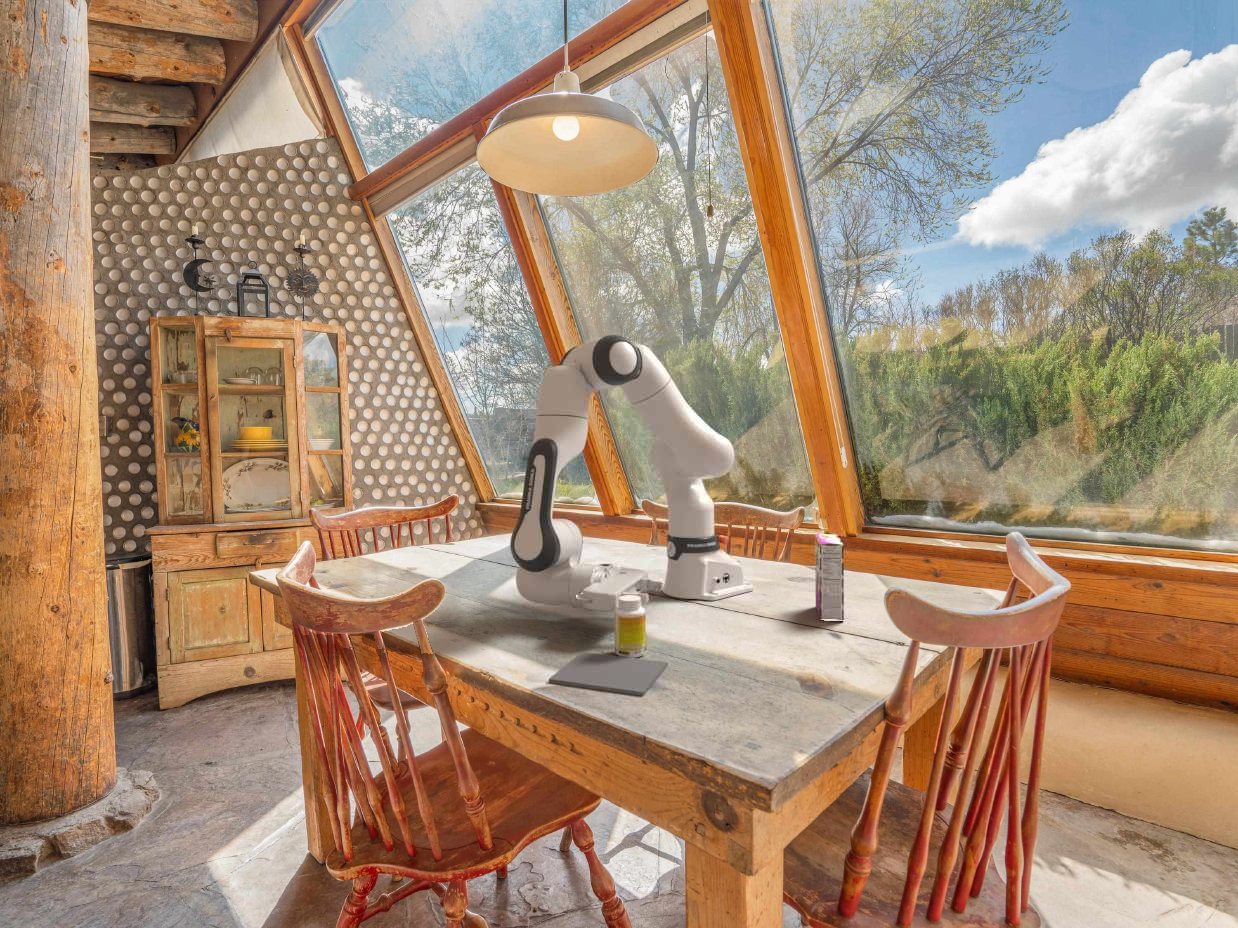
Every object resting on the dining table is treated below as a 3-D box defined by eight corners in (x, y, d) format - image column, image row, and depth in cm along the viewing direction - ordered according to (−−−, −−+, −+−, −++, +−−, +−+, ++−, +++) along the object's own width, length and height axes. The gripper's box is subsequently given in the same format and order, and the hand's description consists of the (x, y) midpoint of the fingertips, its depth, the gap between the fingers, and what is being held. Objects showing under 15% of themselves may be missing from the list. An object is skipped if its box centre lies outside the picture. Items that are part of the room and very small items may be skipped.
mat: (582, 654, 116) (582, 651, 116) (667, 665, 111) (667, 662, 111) (549, 682, 104) (548, 678, 104) (643, 695, 99) (643, 691, 99)
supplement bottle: (651, 655, 116) (650, 599, 115) (623, 661, 113) (622, 603, 112) (637, 646, 121) (636, 592, 120) (610, 651, 118) (609, 596, 117)
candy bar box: (813, 606, 145) (814, 533, 144) (837, 607, 144) (837, 534, 142) (819, 621, 134) (819, 542, 133) (844, 622, 133) (845, 543, 132)
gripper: (568, 583, 123) (637, 589, 118) (608, 561, 142) (669, 565, 137) (569, 616, 123) (638, 623, 118) (609, 590, 142) (670, 595, 137)
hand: (655, 592), depth 128 cm, fingers open, 8 cm apart
